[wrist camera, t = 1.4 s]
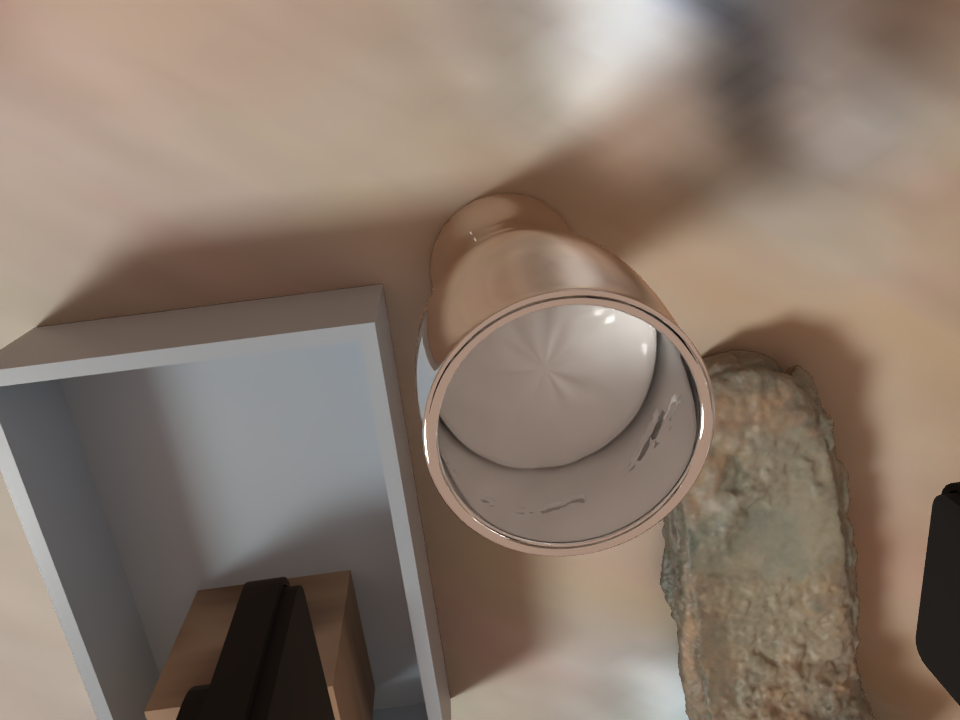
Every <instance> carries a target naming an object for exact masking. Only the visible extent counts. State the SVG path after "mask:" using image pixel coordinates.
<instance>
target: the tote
mask: <svg viewBox="0 0 960 720" xmlns="http://www.w3.org/2000/svg"><path fill="white" fill-rule="evenodd" d="M0 470H1V473H2V475H3V478H4V481H5V483H6V486H7V488H8V491H9V493H10V496H11V499H12V501H13V504H14V506H15V509H16V511H17V514H18V516H19V519H20V522H21V524H22V527H23V529H24V532H25V534H26V537H27V540H28V542H29V545H30V547H31V550H32V552H33V555H34V558H35V560H36V563H37V565H38V568H39V570H40V573H41V576H42V578H43V581H44V583H45V586H46V588H47V591H48V594H49V596H50V599H51V601H52V604H53V606H54V609H55V612H56V614H57V617H58V619H59V622H60V624H61V627H62V629H63V632H64V635H65V637H66V640H67V642H68V645H69V647H70V650H71V653H72V655H73V658H74V660H75V663H76V665H77V668H78V671H79V673H80V676H81V678H82V681H83V683H84V686H85V689H86V691H87V694H88V696H89V699H90V701H91V704H92V707H93V709H94V712H95V714H96V717H97V719H98V720H147V719H146V716H145V713H144V711H145V708H146V706H147V704H148V702H149V699H150V697H151V695H152V693H153V690H154V688H155V686H156V684H157V681H158V679H159V677H160V675H161V672H162V670H163V668H164V665H165V663H166V661H167V659H168V656H169V654H170V652H171V650H172V647H173V645H174V643H175V641H176V638H177V636H178V634H179V632H180V629H181V627H182V625H183V623H184V620H185V618H186V616H187V613H188V611H189V609H190V607H191V604H192V602H193V600H194V598H195V595H196V593H197V591H198V590H205V589H213V588H220V587H228V586H235V585H242V584H245V583H246V582H249V581H256V580H264V579H271V578H278V577H286V578H295V577H302V576H310V575H317V574H325V573H332V572H340V571H347V570H351V575H352V580H353V585H354V589H355V594H356V599H357V604H358V609H359V613H360V618H361V623H362V628H363V632H364V637H365V642H366V647H367V652H368V656H369V661H370V666H371V671H372V676H373V680H374V685H375V694H374V706H373V718H372V720H451V701H450V694H449V688H448V682H447V675H446V669H445V663H444V657H443V651H442V645H441V639H440V633H439V626H438V620H437V614H436V608H435V602H434V596H433V590H432V584H431V578H430V571H429V565H428V559H427V553H426V547H425V541H424V535H423V529H422V522H421V516H420V510H419V504H418V498H417V492H416V486H415V480H414V473H413V467H412V461H411V455H410V449H409V443H408V437H407V431H406V424H405V418H404V412H403V406H402V400H401V394H400V388H399V382H398V376H397V369H396V363H395V357H394V351H393V345H392V339H391V333H390V327H389V320H388V314H387V308H386V302H385V296H384V290H383V284H379V285H371V286H363V287H355V288H347V289H339V290H331V291H323V292H315V293H307V294H299V295H291V296H283V297H275V298H267V299H259V300H251V301H243V302H235V303H227V304H219V305H211V306H203V307H195V308H187V309H179V310H171V311H163V312H155V313H147V314H139V315H131V316H123V317H115V318H107V319H99V320H91V321H83V322H75V323H67V324H59V325H51V326H44V327H36V328H33V329H32V330H30V331H29V332H27V333H26V334H24V335H23V336H21V337H20V338H18V339H16V340H15V341H13V342H12V343H10V344H9V345H7V346H6V347H4V348H3V349H1V350H0Z"/></svg>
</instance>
